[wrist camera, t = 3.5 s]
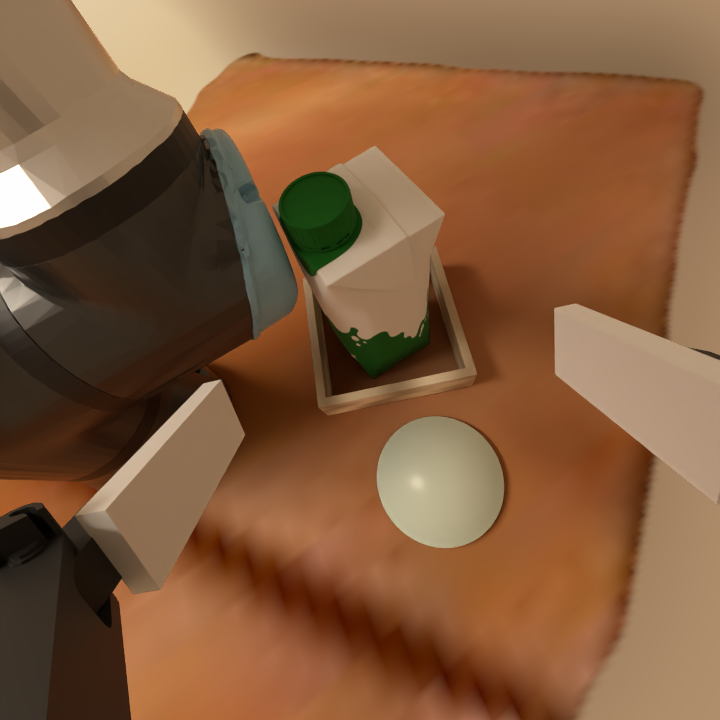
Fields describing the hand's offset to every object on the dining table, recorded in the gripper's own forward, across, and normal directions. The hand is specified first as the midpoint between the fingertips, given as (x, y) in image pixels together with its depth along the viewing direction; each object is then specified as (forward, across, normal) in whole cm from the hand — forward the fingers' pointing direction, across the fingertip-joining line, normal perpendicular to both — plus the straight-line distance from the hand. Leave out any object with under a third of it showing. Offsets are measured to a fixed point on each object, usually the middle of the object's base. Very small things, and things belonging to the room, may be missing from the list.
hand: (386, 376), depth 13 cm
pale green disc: (+12, +2, -17) cm, 21 cm away
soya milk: (+23, 0, -6) cm, 24 cm away
